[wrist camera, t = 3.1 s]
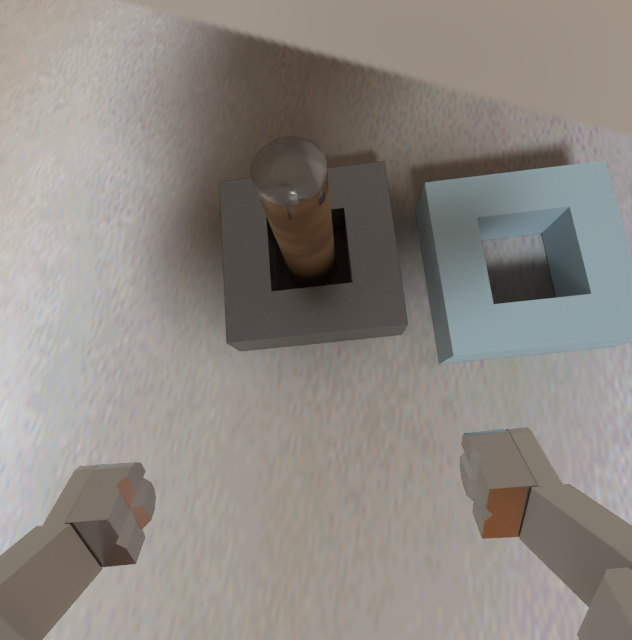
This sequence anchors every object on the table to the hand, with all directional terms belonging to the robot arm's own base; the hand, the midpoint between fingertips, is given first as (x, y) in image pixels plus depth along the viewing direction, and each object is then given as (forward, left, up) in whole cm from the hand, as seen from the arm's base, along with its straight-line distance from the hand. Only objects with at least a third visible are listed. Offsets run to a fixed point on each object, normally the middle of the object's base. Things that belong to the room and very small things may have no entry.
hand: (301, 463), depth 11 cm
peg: (0, +11, -14) cm, 18 cm away
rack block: (+12, +9, -14) cm, 21 cm away
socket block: (0, +11, -14) cm, 18 cm away
